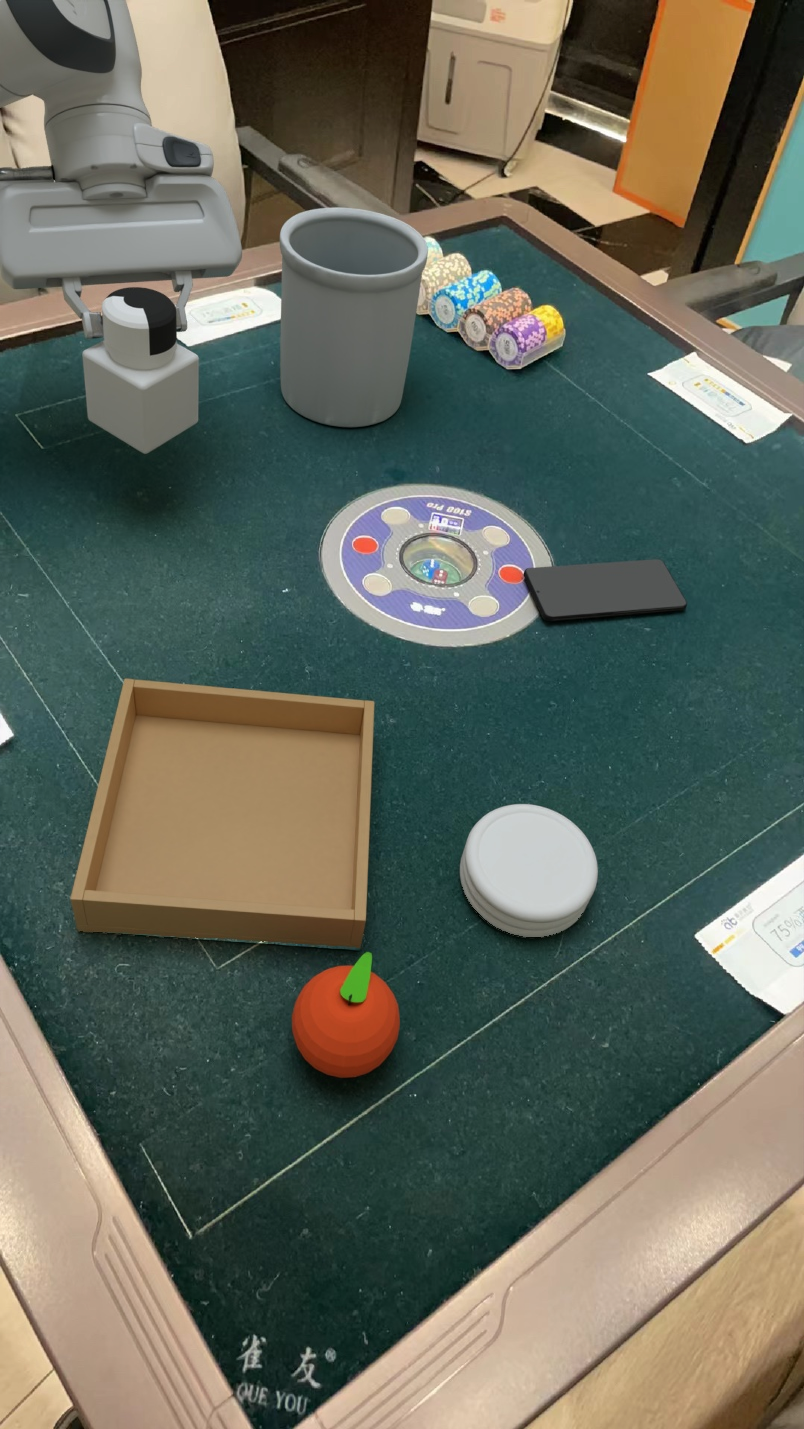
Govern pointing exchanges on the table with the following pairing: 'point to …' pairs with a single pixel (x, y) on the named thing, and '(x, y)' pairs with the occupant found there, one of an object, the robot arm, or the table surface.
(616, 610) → the smartphone
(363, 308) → the utensil holder
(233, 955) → the table surface
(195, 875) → the bin
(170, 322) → the medicine bottle
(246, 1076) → the table surface
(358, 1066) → the clementine
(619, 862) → the table surface
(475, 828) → the white round disc
